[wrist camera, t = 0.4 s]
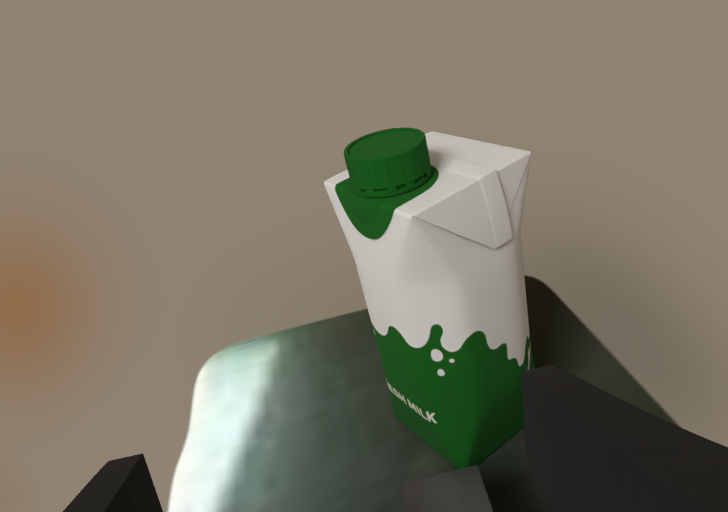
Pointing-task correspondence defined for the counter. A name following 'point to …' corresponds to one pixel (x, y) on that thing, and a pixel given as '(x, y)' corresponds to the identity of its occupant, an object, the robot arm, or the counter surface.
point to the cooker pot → (447, 492)
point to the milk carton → (442, 280)
